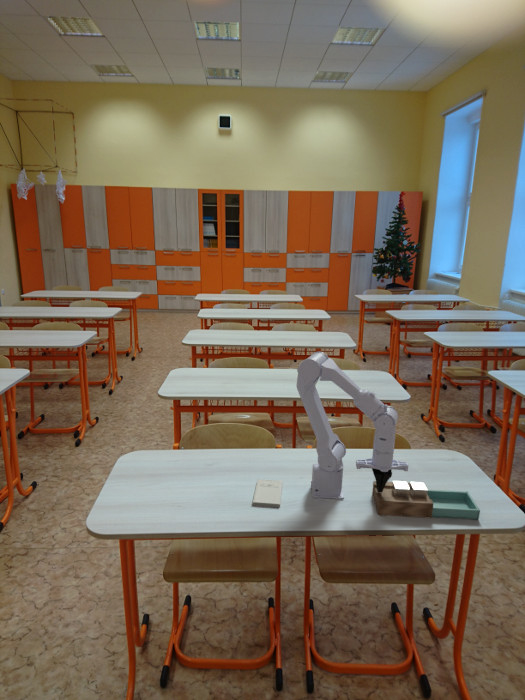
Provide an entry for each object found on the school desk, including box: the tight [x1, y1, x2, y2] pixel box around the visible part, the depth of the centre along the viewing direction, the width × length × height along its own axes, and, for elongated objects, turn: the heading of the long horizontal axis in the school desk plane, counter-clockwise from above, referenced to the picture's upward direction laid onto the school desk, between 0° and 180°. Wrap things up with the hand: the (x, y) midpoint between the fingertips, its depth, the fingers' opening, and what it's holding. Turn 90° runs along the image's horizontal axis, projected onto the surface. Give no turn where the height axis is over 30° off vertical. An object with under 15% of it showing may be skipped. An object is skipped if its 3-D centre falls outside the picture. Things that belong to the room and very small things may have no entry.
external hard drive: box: [252, 479, 284, 508], centre depth 135 cm, size 2×8×12 cm
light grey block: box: [409, 481, 429, 499], centre depth 129 cm, size 4×4×3 cm
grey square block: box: [392, 480, 410, 498], centre depth 129 cm, size 4×4×3 cm
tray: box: [427, 489, 481, 520], centre depth 129 cm, size 13×9×3 cm
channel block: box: [371, 480, 433, 519], centre depth 130 cm, size 15×10×5 cm, turn 86°
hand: (379, 490), depth 130 cm, fingers closed
